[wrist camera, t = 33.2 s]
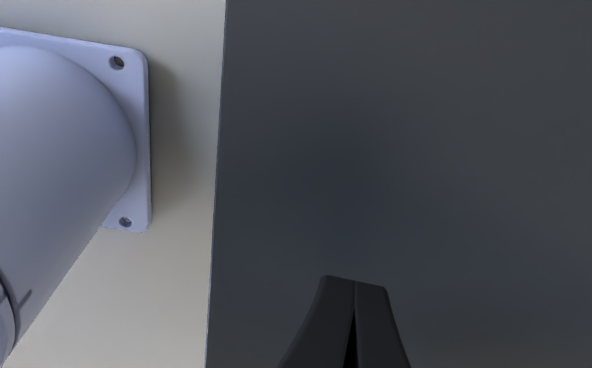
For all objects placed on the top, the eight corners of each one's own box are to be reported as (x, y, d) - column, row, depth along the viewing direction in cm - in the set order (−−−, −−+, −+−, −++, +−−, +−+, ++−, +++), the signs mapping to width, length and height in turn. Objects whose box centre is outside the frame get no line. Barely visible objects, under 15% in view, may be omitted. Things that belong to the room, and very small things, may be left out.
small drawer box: (291, -163, 14) (237, -193, 7) (697, -98, 14) (1020, -69, 7) (250, 220, 22) (203, 384, 15) (519, 265, 21) (598, 450, 15)
